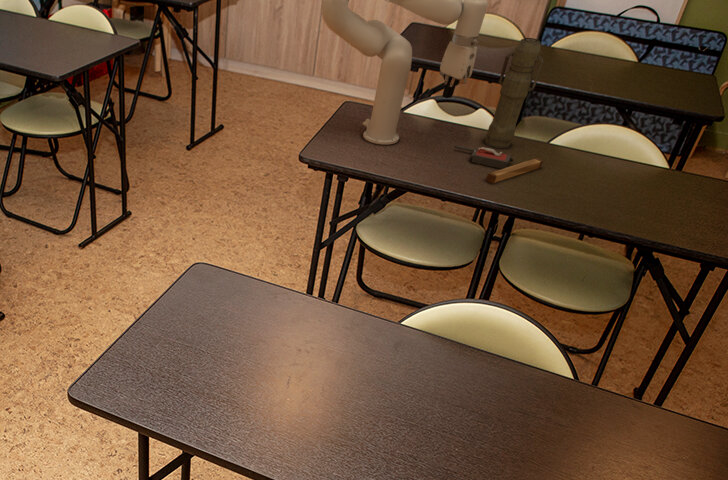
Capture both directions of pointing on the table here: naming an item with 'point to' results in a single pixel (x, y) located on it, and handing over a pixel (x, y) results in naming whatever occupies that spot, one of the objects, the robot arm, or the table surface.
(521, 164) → the bar
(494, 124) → the thermos
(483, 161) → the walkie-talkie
